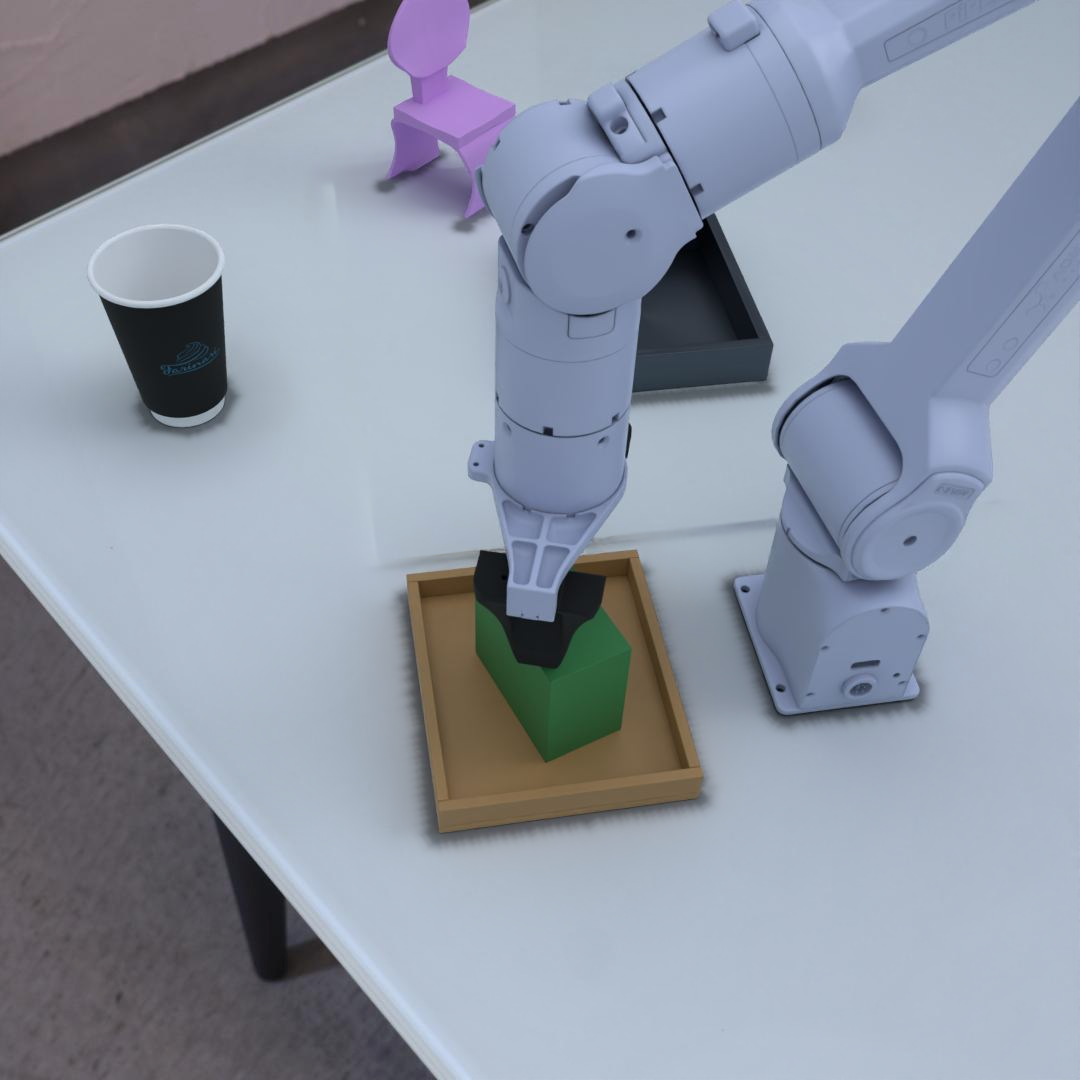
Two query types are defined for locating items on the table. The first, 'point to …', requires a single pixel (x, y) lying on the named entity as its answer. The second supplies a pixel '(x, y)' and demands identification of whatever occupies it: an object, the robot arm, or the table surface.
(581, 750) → the tray
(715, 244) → the dark grey tray
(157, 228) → the dixie cup
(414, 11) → the toy chair
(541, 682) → the green rectangular block
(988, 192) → the table surface
